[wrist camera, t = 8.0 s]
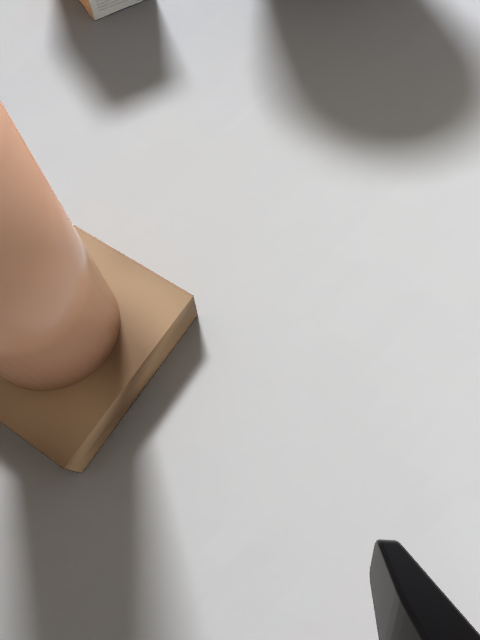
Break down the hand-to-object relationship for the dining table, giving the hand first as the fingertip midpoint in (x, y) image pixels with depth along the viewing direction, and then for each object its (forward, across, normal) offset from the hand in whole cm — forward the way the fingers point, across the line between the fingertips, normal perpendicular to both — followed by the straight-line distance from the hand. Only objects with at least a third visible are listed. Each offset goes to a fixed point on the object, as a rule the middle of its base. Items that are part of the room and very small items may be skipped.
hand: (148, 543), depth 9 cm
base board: (+16, +8, +3) cm, 18 cm away
